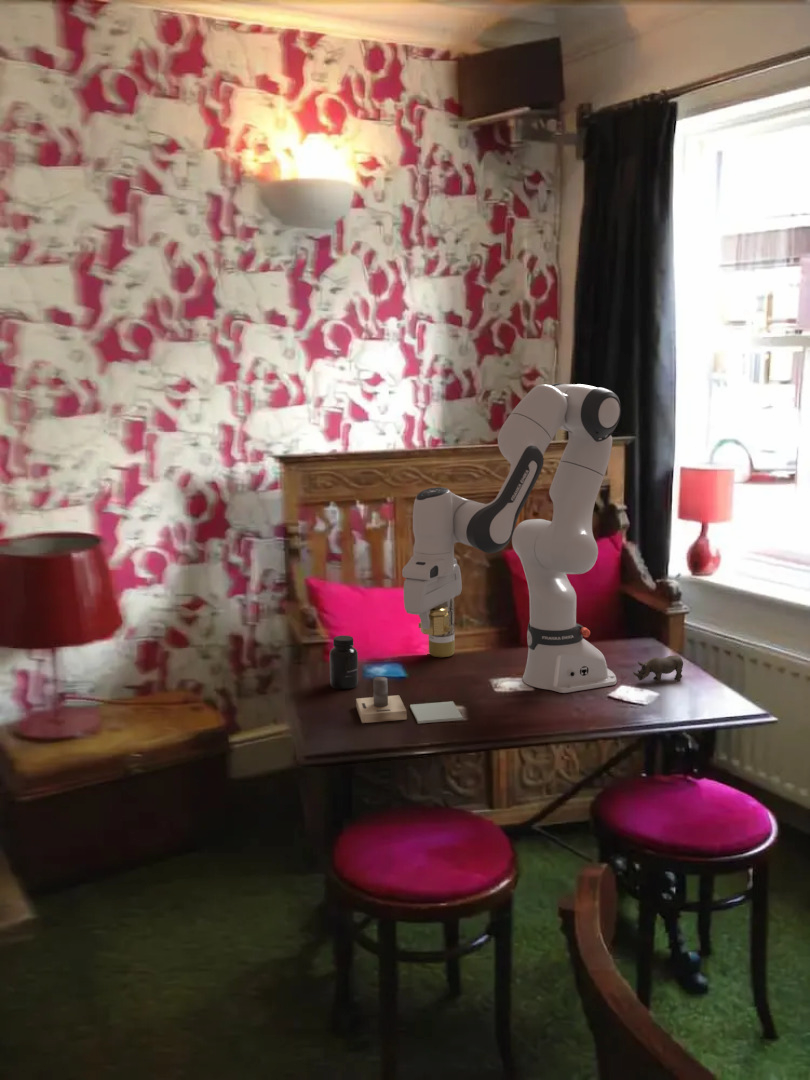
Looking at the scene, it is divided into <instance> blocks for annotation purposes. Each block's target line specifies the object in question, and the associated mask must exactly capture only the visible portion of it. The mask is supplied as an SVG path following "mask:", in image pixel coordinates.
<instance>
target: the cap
mask: <svg viewBox="0 0 810 1080" xmlns="http://www.w3.org/2000/svg"><path fill="white" fill-rule="evenodd" d="M429 618H430V620H432V627H431V628H429V629H423V628H422V621H421V620H420V622H419V623H418V628H419V629H420V632H421V633H422V634H424V635H426V636H429V635H443V634H445V633H447V632H449V631H451V626H449V614H448V608H447V607H446V606H442V605H438V606H436V607H434V608H432V609H430V614H429Z"/></svg>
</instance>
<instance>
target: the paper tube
mask: <svg viewBox="0 0 810 1080" xmlns="http://www.w3.org/2000/svg"><path fill="white" fill-rule="evenodd" d="M448 614H449V626H451V631H449V632H447V633H445V634H443V635H428V652H429V653H428V654H429V655H430V656H431V657H435V658H449V657H451V656H453V655H455V654H454V653H455V651H456V650H455V597H454V598H452V599H450V606H449V609H448Z"/></svg>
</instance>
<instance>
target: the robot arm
mask: <svg viewBox="0 0 810 1080" xmlns="http://www.w3.org/2000/svg"><path fill="white" fill-rule="evenodd" d="M619 398H620V397H619V396H618V395H617V394H616V393H615V392H613V391H612V390H611V389H607V388H605V387H601V386H600V387H596V386H593V385H588V384H581V383H577V384H575V383H573V384H572V383H568V384H567V383H561V382H560V383H559V382H557V383H553V384H546V383H545V384H543V383H542V384H538V385H535V386H534V387H533V388H532V389H530V390H529V392H527V393H526V395H525V396H524V397H523V398H522V399H521V400H520V401H519V403H518V404H517V405H515V407H514V408H513V410H512V411H511V413H510V414H509V415H508V417H507V418H506V419H505V421H504V423H503V425H502V426H501V428H500V430H499V433H498V435H497V446H498V449H499V451H500V453H501V455H502V456H503V457H504V459H506V461H507V462H508V463H509V464H510V468H509V469H510V470H509V472H508V474H507V476H506V478H505V480H504V482H503V484H502V486H501V487H500V489H499V492H498V493H497V495H496V497H495V498H494V499H493V500H492V501H490V502H488V503H482V502H478V501H475V500H472V499H467V498H464V497H461V496H459V495H457V494H455V493H454V492H452V491H451V490H450V489H449V488H448V487H438V486H437V487H431V488H426V489H424V490H421V491H420V492H419V493H417V495H416V497H415V499H414V503H413V509H412V532H413V536H414V544H413V549H412V550H413V551H412V553H413V554H412V556H411V558H410V559H409V561H408V562H407V563H406V564H405V565H404V566H403V568H402V570H401V573H402V577H403V578H405V580H404V583H403V605H404V609H405V612H406V613H407V614H408V615H409V614H410V615H416V616H417V615H418V617H419V619H420V622H421V621H422V628H423V629H429V628H431V627H432V620H430V618H429V614H430V609H432V608H434V607H436V606H438V605H442V606H446V607H447V608H448V609H449V606H450V599H452V598H454V599H455V598H456V597H458V596H459V595H461V592H462V588H463V585H462V574H461V568H460V565H459V564H458V560H457V558H456V557H455V544H456V543H457V544H458V543H460V544H463V545H467V546H469V547H473V548H474V549H477V550H480V551H481V552H484V553H486V554H493V553H495V554H496V553H497V552H500V551H502V550H503V549H505V547H507V545H508V544H509V543H510V541H511V545H512V548H513V550H514V552H515V553H516V555H517V556H518V558H519V560H520V562H521V566H522V568H523V571H524V574H525V579H526V582H527V589H528V596H529V622H528V624H527V633H526V635H527V636H526V639H527V641H526V642H527V646H528V650H527V651H528V652H527V660H526V664H525V670H524V673H523V676H522V681H523V682H524V683H525V684H526V685H528V686H530V687H533V688H537V689H542V690H549V691H554V692H558V693H563V694H567V693H574V692H578V691H585V690H586V691H587V690H591V689H598V688H604V687H608V686H615V685H616V684H617V681H618V680H617V675H616V674H615V673H614V671H612V670H611V669H609V668H608V665H607V664H608V663H607V661H606V657H605V656H604V654H603V652H601V651H600V650H599V649H598V648H597V647H595V645H593V644H592V643H590V642H589V641H588V640H586V639H585V638H589V637H590V635H591V631H590V630H589V629H588V628H587V627H584V626H583V625H582V624H579V623H577V593H576V591H575V588H574V587H573V585H572V584H571V582H570V580H569V579H568V575H581V574H582V575H583V574H585V573H587V572H589V571H590V570H592V568H593V567H594V566H595V564H596V561H597V560H598V555H599V546H598V543H597V542H596V539H595V537H594V533H593V515H594V514H593V513H594V508H595V504H596V501H597V498H598V495H599V492H600V489H601V486H602V483H603V481H604V478H605V476H606V472H607V468H608V465H609V462H610V458H611V454H612V453H611V452H612V447H613V436H612V435H613V433H614V431H615V430H616V427H617V426H618V424H619V421H620V419H621V416H622V406H621V402H620V399H619ZM559 430H562V431H566V432H568V441H567V444H566V446H565V448H564V450H563V453H562V455H561V457H560V460H559V463H558V466H557V468H556V471H555V473H554V476H553V479H552V482H551V484H550V486H549V493H548V495H549V497H550V500H551V501H552V505H553V510H552V511H553V513H552V520H546V519H543V518H533V519H532V518H530V519H525V520H523V521H521V522H520V523H518V524H517V522H518V519H519V516H520V514H521V512H522V510H523V509H524V506H525V504H526V502H527V501H528V498H529V496H530V494H531V493H532V490H533V489H534V487H535V485H536V482H537V481H538V479H539V477H540V475H541V472H542V469H543V466H544V461H545V459H544V455H545V452H546V451H547V448H548V447H549V445H550V444H551V442H552V440H553V439H554V437H555V436H556V434H557V433H558V431H559ZM583 637H584V638H583Z"/></svg>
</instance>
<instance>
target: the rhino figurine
mask: <svg viewBox="0 0 810 1080" xmlns="http://www.w3.org/2000/svg"><path fill="white" fill-rule="evenodd" d="M637 663H638V665H639V666H641V667H640V668H641V669H640V670H639V669H638V670H637V672H635V671H632V674H633V675H634V676H635V677H637V679H638V681H643V680H644V679H645V678H647V677H648V676H649V675H650V674H651V673H654V675H655V676H654V677H653V679H654V680H655V683H656V684H661V683H662V679H661V678H662V675H663V674H664V675H665V674H666V675H667V674H671V673H672V672H674V671H676V672H675V673H676V674H675V675H674V678H673V680H674V681H675V682H676V681H677V682H678V681H679V682H680V681H681V678H682V677H683V675H682V672H683V667H684V661H683V658H681V656H679V655H668V656H666V657H663V658H661V657H658V656H654V657H652V658H650V659H648V660H647V661H645V662H644V663H642V662H640V661H638V662H637Z"/></svg>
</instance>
